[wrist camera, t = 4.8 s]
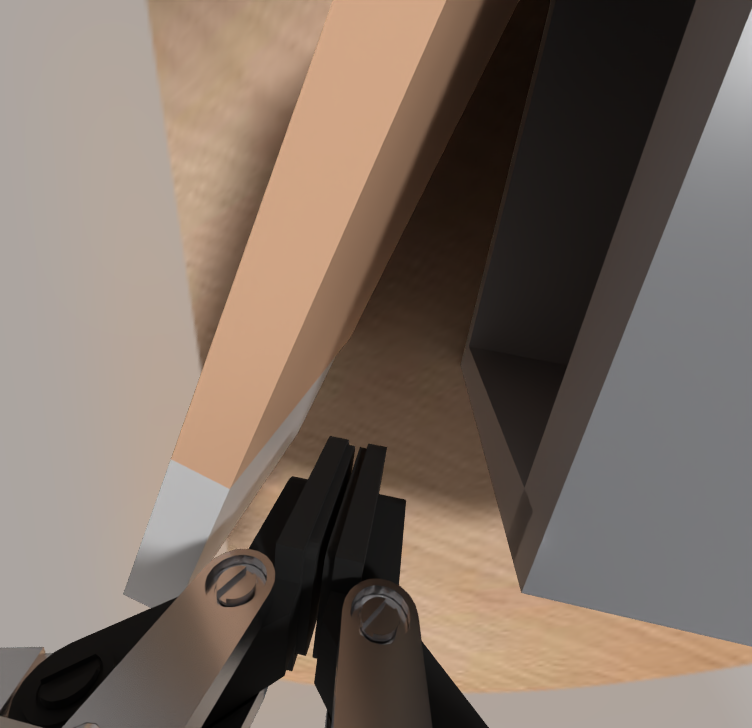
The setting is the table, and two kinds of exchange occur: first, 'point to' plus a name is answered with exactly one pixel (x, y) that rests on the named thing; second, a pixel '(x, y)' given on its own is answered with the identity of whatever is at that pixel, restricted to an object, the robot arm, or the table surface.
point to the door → (314, 257)
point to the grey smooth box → (626, 317)
